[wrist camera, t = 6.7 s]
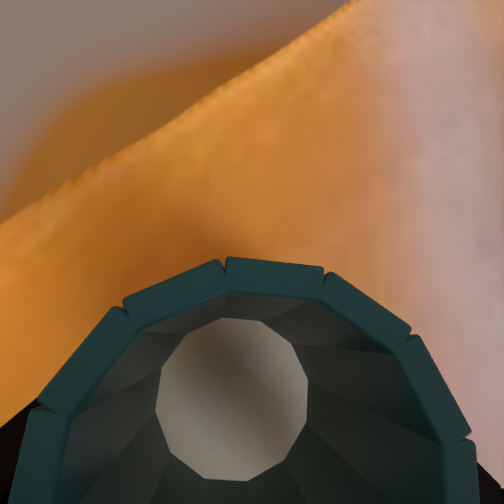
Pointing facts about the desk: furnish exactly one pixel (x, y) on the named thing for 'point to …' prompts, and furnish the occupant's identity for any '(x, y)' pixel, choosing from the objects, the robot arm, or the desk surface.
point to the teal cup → (318, 401)
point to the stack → (232, 399)
